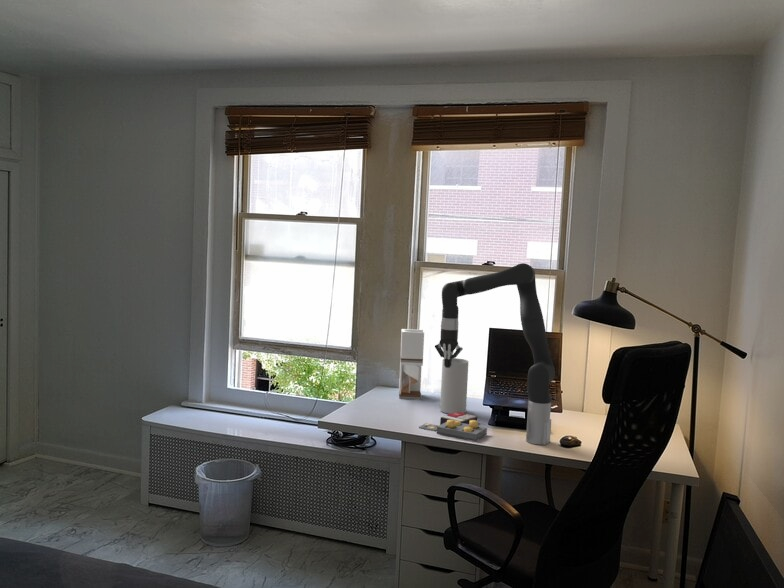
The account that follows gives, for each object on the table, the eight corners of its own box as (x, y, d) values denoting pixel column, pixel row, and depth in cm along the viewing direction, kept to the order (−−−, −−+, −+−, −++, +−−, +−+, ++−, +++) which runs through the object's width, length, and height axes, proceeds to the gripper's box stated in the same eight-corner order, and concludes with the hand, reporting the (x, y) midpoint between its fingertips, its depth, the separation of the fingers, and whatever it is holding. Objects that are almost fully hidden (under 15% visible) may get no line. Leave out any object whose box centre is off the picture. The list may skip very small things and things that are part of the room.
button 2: (461, 428, 283) (461, 421, 283) (458, 430, 280) (458, 423, 280) (454, 426, 285) (454, 420, 285) (450, 428, 282) (450, 421, 282)
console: (486, 434, 279) (487, 427, 279) (475, 441, 269) (476, 434, 268) (448, 427, 288) (449, 420, 288) (436, 433, 278) (436, 426, 277)
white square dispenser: (399, 398, 337) (402, 331, 334) (398, 393, 347) (401, 328, 345) (421, 399, 337) (424, 332, 334) (420, 394, 348) (423, 329, 345)
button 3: (473, 434, 275) (473, 427, 274) (470, 436, 271) (470, 429, 271) (465, 433, 276) (466, 426, 276) (462, 435, 273) (462, 428, 273)
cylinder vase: (470, 414, 312) (473, 362, 310) (447, 415, 307) (449, 363, 305) (458, 407, 324) (460, 357, 322) (435, 408, 319) (438, 358, 317)
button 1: (456, 427, 278) (456, 420, 278) (452, 429, 275) (453, 422, 275) (448, 426, 280) (449, 419, 280) (445, 427, 277) (445, 420, 277)
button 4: (478, 427, 279) (479, 421, 279) (475, 429, 276) (475, 422, 276) (471, 426, 281) (471, 419, 281) (467, 428, 278) (468, 421, 278)
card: (442, 427, 287) (442, 425, 287) (435, 431, 281) (435, 429, 281) (426, 424, 291) (426, 422, 291) (418, 427, 285) (418, 426, 285)
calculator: (478, 415, 297) (461, 420, 285) (477, 425, 297) (460, 430, 285) (457, 411, 303) (440, 415, 291) (456, 420, 304) (439, 425, 291)
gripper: (467, 328, 283) (465, 368, 285) (439, 325, 290) (437, 364, 291) (459, 330, 277) (457, 370, 278) (432, 327, 283) (430, 366, 285)
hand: (447, 367), depth 285 cm, fingers closed
